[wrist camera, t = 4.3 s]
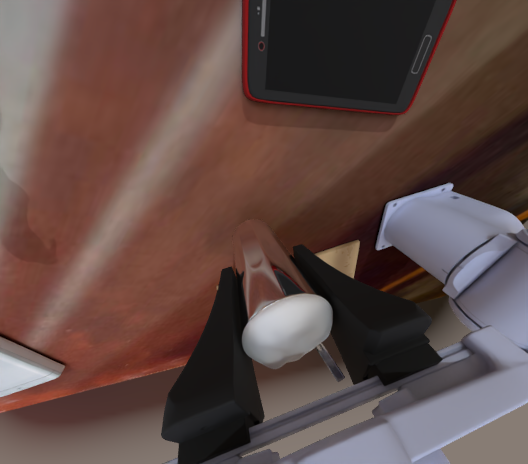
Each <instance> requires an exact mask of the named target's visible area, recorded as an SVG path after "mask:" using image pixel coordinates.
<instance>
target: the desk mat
mask: <svg viewBox="0 0 528 464" xmlns="http://www.w3.org/2000/svg"><path fill="white" fill-rule="evenodd" d="M359 245H360V241H359V240H355V241H352V242H349V243H346V244H343V245H340V246H337V247H334V248H331V249H328V250H325V251H322V252H319V253H316V254H315V255H316V256H318V257H319V258H320V259H322V260H323V261H325V262H326V263H328V264H329V265H331V266H332V267H334V268H335V269H337V270H339V271H340V272H342V273H344V274H346V275H347V276H349V277H351V278H353V279H354V273H355V267H356V262H357V256H358V251H359ZM218 287H219V286H217V290H218Z"/></svg>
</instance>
